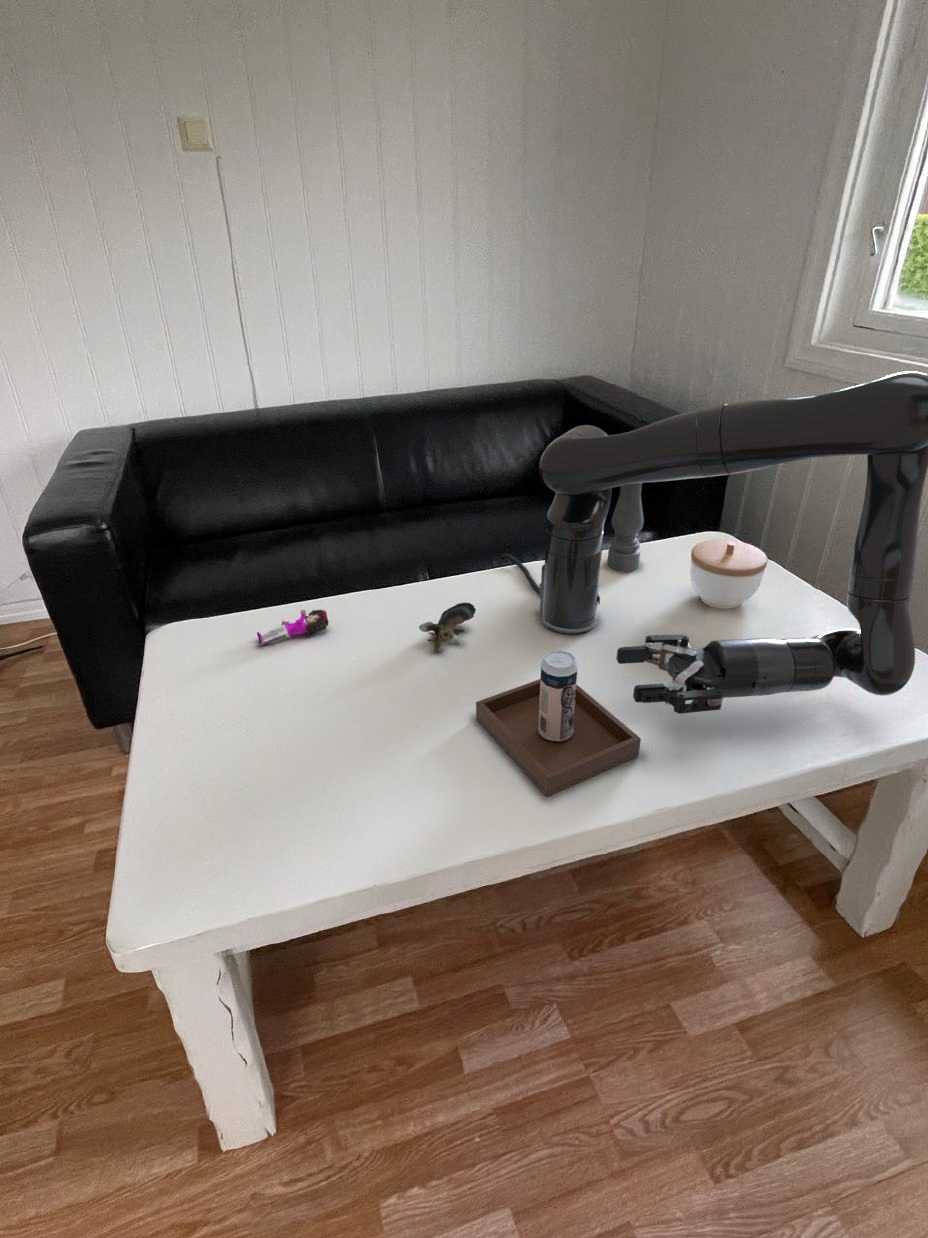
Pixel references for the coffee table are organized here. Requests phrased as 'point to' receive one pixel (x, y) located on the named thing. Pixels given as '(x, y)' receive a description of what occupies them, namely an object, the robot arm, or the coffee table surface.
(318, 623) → the character figurine
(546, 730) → the beer can
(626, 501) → the candle holder
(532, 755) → the tray
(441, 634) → the brown irregular figure
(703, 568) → the lidded bowl
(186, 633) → the coffee table surface
